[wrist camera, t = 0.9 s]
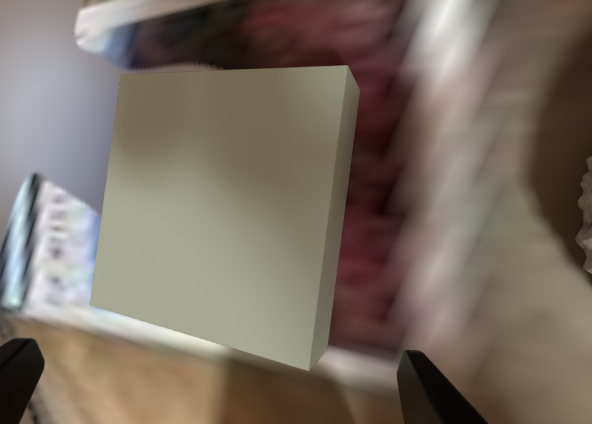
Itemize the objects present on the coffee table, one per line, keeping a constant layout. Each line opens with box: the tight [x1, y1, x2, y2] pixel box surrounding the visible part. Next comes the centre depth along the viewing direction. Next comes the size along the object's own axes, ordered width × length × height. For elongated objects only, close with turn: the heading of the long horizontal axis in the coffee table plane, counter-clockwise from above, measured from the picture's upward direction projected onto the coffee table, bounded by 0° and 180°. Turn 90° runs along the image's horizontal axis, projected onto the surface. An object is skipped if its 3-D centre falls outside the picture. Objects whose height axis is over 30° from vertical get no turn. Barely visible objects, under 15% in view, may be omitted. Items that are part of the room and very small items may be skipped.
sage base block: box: [90, 65, 360, 371], centre depth 20 cm, size 14×14×3 cm
